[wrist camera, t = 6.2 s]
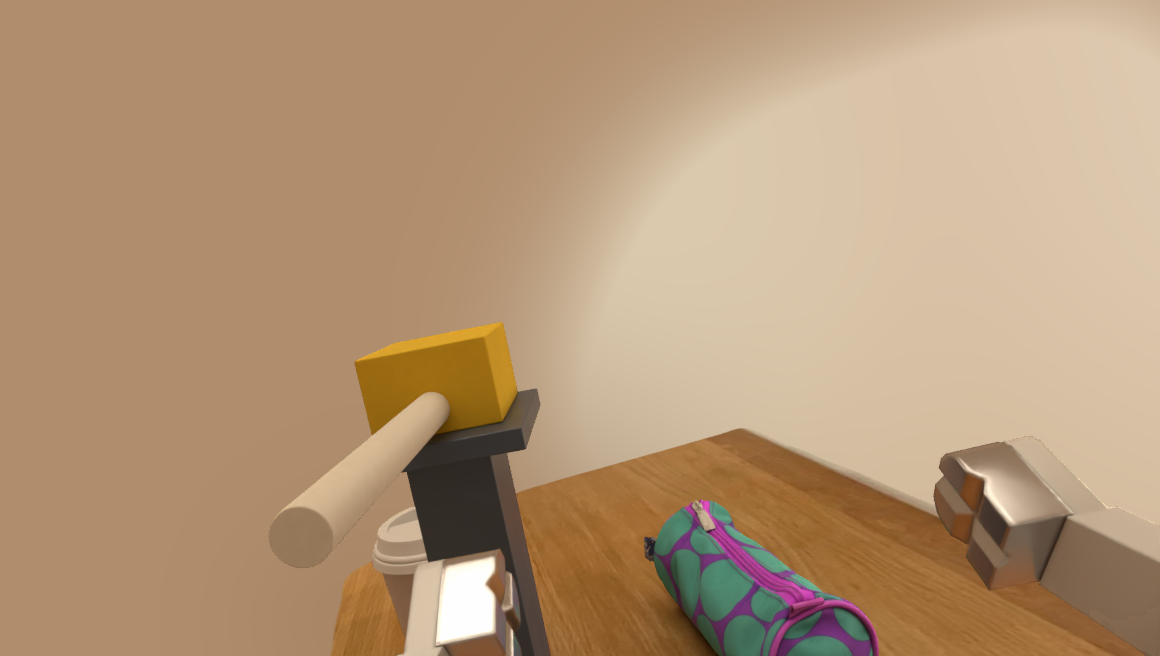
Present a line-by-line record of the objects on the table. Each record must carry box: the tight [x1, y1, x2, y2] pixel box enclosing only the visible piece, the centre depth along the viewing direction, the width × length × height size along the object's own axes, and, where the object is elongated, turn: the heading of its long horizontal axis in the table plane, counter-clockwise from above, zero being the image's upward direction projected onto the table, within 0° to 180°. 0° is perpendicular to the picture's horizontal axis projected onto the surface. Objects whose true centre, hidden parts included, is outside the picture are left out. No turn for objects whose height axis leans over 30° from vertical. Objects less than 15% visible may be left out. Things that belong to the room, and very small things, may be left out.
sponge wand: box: [269, 322, 518, 568], centre depth 25 cm, size 19×6×4 cm, turn 179°
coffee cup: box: [372, 506, 428, 639], centre depth 50 cm, size 10×10×15 cm
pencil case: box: [644, 500, 879, 656], centre depth 48 cm, size 21×9×10 cm, turn 15°
